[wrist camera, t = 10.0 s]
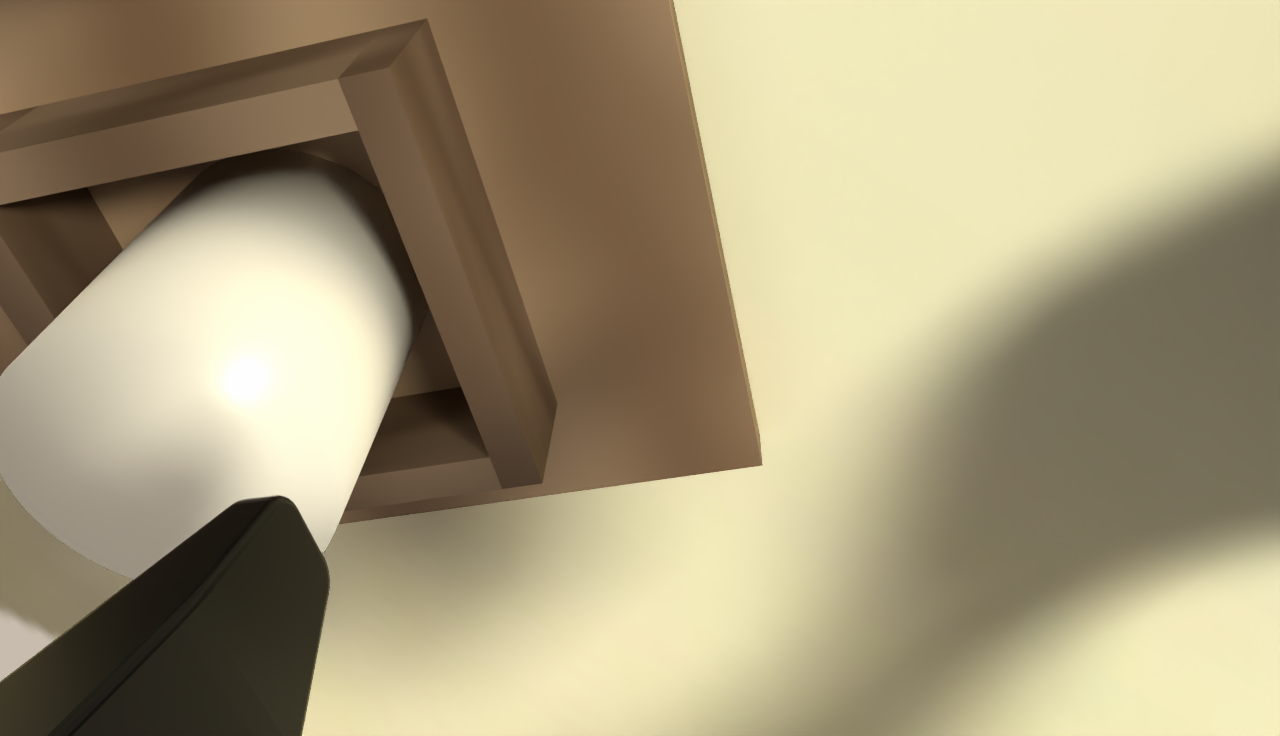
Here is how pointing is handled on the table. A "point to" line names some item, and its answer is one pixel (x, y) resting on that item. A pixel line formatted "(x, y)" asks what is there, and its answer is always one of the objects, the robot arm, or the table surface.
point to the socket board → (418, 212)
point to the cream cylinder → (216, 363)
